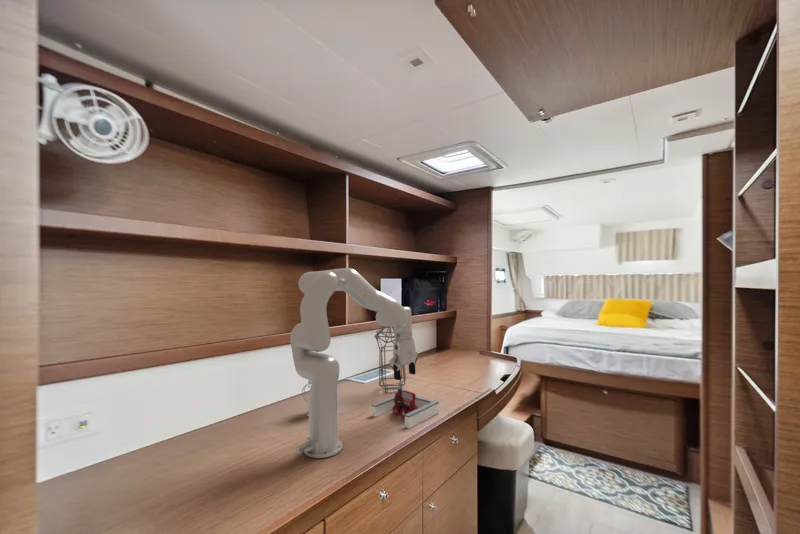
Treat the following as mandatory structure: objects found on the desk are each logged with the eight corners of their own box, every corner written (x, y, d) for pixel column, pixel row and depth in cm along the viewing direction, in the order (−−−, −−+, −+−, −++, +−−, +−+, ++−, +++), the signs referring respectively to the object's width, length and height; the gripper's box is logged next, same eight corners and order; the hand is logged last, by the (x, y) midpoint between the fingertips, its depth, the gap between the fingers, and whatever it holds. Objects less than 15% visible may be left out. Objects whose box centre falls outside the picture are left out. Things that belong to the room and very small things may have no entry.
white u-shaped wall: (409, 428, 132) (408, 416, 132) (372, 415, 145) (371, 404, 145) (439, 412, 147) (438, 401, 147) (403, 402, 160) (402, 392, 160)
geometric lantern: (408, 395, 170) (404, 323, 171) (376, 396, 170) (373, 325, 171) (408, 385, 186) (405, 320, 187) (379, 386, 186) (375, 321, 187)
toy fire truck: (401, 408, 152) (400, 384, 153) (421, 416, 143) (420, 391, 143) (389, 413, 148) (388, 388, 148) (408, 421, 138) (408, 395, 139)
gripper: (396, 340, 138) (398, 383, 137) (422, 333, 151) (424, 373, 150) (382, 338, 143) (384, 380, 142) (409, 332, 156) (411, 370, 155)
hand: (405, 376), depth 146 cm, fingers open, 9 cm apart
